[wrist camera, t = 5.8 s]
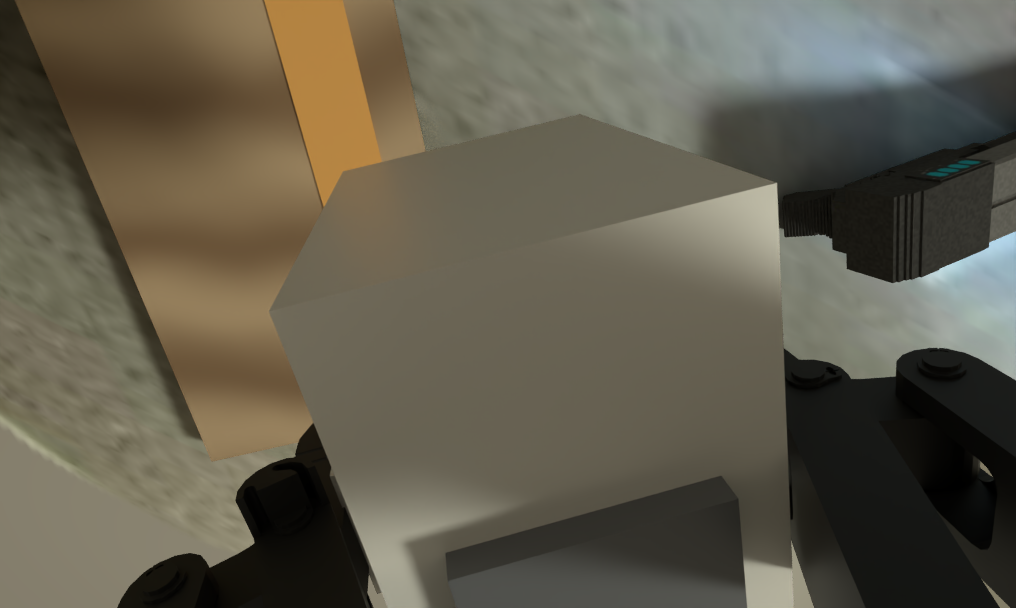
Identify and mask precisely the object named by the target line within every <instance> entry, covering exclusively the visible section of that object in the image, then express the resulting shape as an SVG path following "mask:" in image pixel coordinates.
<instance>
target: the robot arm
mask: <svg viewBox="0 0 1016 608" xmlns="http://www.w3.org/2000/svg"><path fill="white" fill-rule="evenodd" d="M784 373H785V399H786V424H787V449H788V475H789V500H790V526H791V541H792V543H793V547H794V550H795V552H796V555H797V558H798V561H799V564H800V567H801V570H802V573H803V576H804V579H805V582H806V585H807V588H808V591H809V594H810V596H811V600H812V603H813V605H814V608H1000V607H999V606H998V604H997V603H996V601H995V600H994V598H993V597H992V595H991V593H990V592H989V591H988V589H987V587H986V586H985V584H984V583H983V581H984V582H985V583H986V584H987V585H988V586H989V587H990V588H991V589H992V590H993V591H994V592H995V593H996V594H997V595H998V596H999V597H1000V598H1001V599H1002V600H1003V601H1004V602H1005V603H1006V604H1007V605H1008V606H1009V607H1010V608H1016V380H1014V379H1012V378H1011V377H1009V376H1007V375H1005V374H1004V373H1002V372H1000V371H999V370H997V369H995V368H994V367H992V366H990V365H988V364H987V363H985V362H983V361H982V360H980V359H978V358H976V357H973V356H971V355H969V354H966V353H963V352H958V351H954V350H950V349H945V348H939V349H937V348H927V349H921V350H914V351H911V352H909V353H906V354H903V355H902V356H901V357H900V358H899V359H898V360H897V363H896V377H885V378H871V379H851V378H850V377H849V375H848V374H847V373H846V372H845V371H844V370H843V369H842V368H840V367H838V366H836V365H833V364H831V363H829V362H823V361H818V360H799V359H797V358H796V357H795V356H793V355H792V354H791V353H789V352H788V351H787V350H785V349H784ZM295 455H296V457H294V458H286V459H283V460H280V461H277V462H274V463H271V464H269V465H267V466H266V467H264V468H262V469H260V470H258V471H257V472H255V473H254V474H253V475H252V476H250V477H249V478H248V479H247V480H246V481H245V482H244V483H243V484H242V486H241V487H240V488H239V490H238V491H237V496H236V500H235V501H236V503H237V505H238V507H239V509H240V511H241V513H242V515H243V517H244V519H245V521H246V523H247V525H248V527H249V529H250V532H251V534H252V536H253V538H254V542H255V543H254V544H253V545H252V546H250V547H249V548H247V549H245V550H244V551H242V552H240V553H238V554H237V555H235V556H233V557H231V558H229V559H227V560H225V561H223V562H221V563H219V564H217V565H215V566H213V567H211V568H209V566H208V564H207V562H206V561H205V560H204V559H203V557H202V556H201V555H197V554H192V553H188V554H182V555H177V556H174V557H171V558H169V559H167V560H164V561H162V562H160V563H158V564H156V565H154V566H153V567H152V568H150V569H148V570H147V571H146V572H144V573H143V574H142V575H141V576H140V577H139V578H138V579H137V580H136V581H135V582H133V583H132V584H131V585H130V587H129V588H128V590H127V591H126V593H125V594H124V596H123V597H122V599H121V601H120V603H119V605H118V607H117V608H373V605H372V603H371V601H370V599H369V596H368V593H367V591H368V576H369V575H370V577H371V580H372V582H373V585H374V587H375V590H376V592H377V594H378V593H382V592H381V589H380V587H379V584H378V582H377V580H376V577H375V575H374V572H373V570H372V567H371V565H370V562H369V560H368V557H367V555H366V552H365V550H364V547H363V545H362V542H361V540H360V537H359V535H358V532H357V530H356V527H355V525H354V522H353V520H352V517H351V515H350V512H349V510H348V507H347V505H346V502H345V500H344V497H343V495H342V492H341V490H340V487H339V485H338V482H337V480H336V477H335V475H334V472H333V470H332V467H331V465H330V462H329V460H328V458H327V455H326V453H325V450H324V448H323V445H322V443H321V440H320V438H319V435H318V433H317V430H316V428H315V425H314V423H313V424H311V426H310V427H309V428H308V429H307V431H306V432H305V433H304V434H303V435H302V437H301V438H300V439H299V442H298V446H297V449H296V453H295ZM980 461H981V462H982V463H983V464H984V465H985V466H986V467H987V468H988V470H989V471H990V473H991V474H992V476H993V477H992V476H990V475H988V474H987V473H986V472H985V471H984V470H982V469H981V468H980ZM981 579H982V580H983V581H982V580H981Z"/></svg>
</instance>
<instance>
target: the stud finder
mask: <svg viewBox="0 0 1016 608" xmlns="http://www.w3.org/2000/svg"><path fill="white" fill-rule="evenodd" d="M269 313H270V316H271V318H272V321H273V323H274V326H275V328H276V331H277V333H278V336H279V338H280V340H281V343H282V345H283V348H284V350H285V353H286V355H287V358H288V360H289V363H290V365H291V368H292V370H293V373H294V375H295V378H296V380H297V383H298V385H299V388H300V390H301V393H302V395H303V398H304V400H305V403H306V405H307V408H308V410H309V413H310V415H311V418H312V420H313V423H314V425H315V428H316V430H317V433H318V435H319V438H320V440H321V443H322V445H323V448H324V450H325V453H326V455H327V458H328V460H329V462H330V465H331V467H332V470H333V472H334V475H335V477H336V480H337V482H338V485H339V487H340V490H341V492H342V495H343V497H344V500H345V502H346V505H347V507H348V510H349V512H350V515H351V517H352V520H353V522H354V525H355V527H356V530H357V532H358V535H359V537H360V540H361V542H362V545H363V547H364V550H365V552H366V555H367V557H368V560H369V562H370V565H371V567H372V570H373V572H374V575H375V577H376V580H377V582H378V584H379V587H380V589H381V592H382V594H383V597H384V599H385V602H386V604H387V607H388V608H794V602H793V579H792V578H793V577H792V551H791V526H790V500H789V475H788V449H787V424H786V399H785V373H784V348H783V322H782V297H781V271H780V246H779V221H778V195H777V183H776V182H773V181H770V180H767V179H764V178H762V177H759V176H756V175H753V174H750V173H747V172H744V171H741V170H739V169H736V168H733V167H730V166H727V165H724V164H721V163H718V162H716V161H713V160H710V159H707V158H704V157H701V156H698V155H696V154H693V153H690V152H687V151H684V150H681V149H678V148H675V147H673V146H670V145H667V144H664V143H661V142H658V141H655V140H652V139H650V138H647V137H644V136H641V135H638V134H635V133H632V132H629V131H627V130H624V129H621V128H618V127H615V126H612V125H609V124H606V123H604V122H601V121H598V120H595V119H592V118H589V117H586V116H583V115H581V114H579V115H574V116H570V117H566V118H562V119H558V120H554V121H550V122H545V123H541V124H537V125H533V126H529V127H525V128H521V129H516V130H512V131H508V132H504V133H500V134H496V135H492V136H487V137H483V138H479V139H475V140H471V141H467V142H463V143H459V144H454V145H450V146H446V147H442V148H438V149H434V150H430V151H425V152H421V153H417V154H413V155H409V156H405V157H401V158H396V159H392V160H388V161H384V162H380V163H376V164H372V165H367V166H363V167H359V168H355V169H351V170H347V171H343V172H342V174H341V176H340V178H339V180H338V182H337V184H336V186H335V188H334V189H333V191H332V193H331V195H330V197H329V199H328V201H327V203H326V205H325V206H324V208H323V210H322V212H321V214H320V216H319V218H318V220H317V222H316V223H315V225H314V227H313V229H312V231H311V233H310V235H309V237H308V238H307V240H306V242H305V244H304V246H303V248H302V250H301V252H300V254H299V255H298V257H297V259H296V261H295V263H294V265H293V267H292V269H291V271H290V272H289V274H288V276H287V278H286V280H285V282H284V284H283V286H282V288H281V289H280V291H279V293H278V295H277V297H276V299H275V301H274V303H273V305H272V306H271V308H270V310H269Z"/></svg>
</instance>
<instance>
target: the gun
mask: <svg viewBox="0 0 1016 608" xmlns="http://www.w3.org/2000/svg"><path fill="white" fill-rule="evenodd" d="M783 220H784V236H785V237H796V236H798V237H799V236H809V235H810V236H812V235H814V236H815V235H817V234H819V235H825V234H826V236H827V237H828V236H829V238H832V246H833V250H835V251H839V252H843V253H846V254H847V269H849V270H852V271H855V272H859V273H862V274H865V275H868V276H871V277H875V278H878V279H881V280H884V281H888V282H891V283H895V282H900V281H903V280H909V279H911V280H912V279H915V278H917V277H923V276H926V275H928V274H930V273H933V272H935V271H937V270H939V269H940V268H942V267H945V266H947V265H949V264H952V263H954V262H956V261H959V260H961V259H963V258H966V257H968V256H971V255H973V254H975V253H978V252H980V251H982V250H985V249H986V248H988V247H989V242H991V241H994V240H996V239H998V238H1001V237H1003V236H1005V235H1008V234H1010V233H1013V232H1015V231H1016V132H1013V133H1010V134H1008V135H1005V136H1002V137H1000V138H997V139H994V140H991V141H989V142H986V143H983V144H981V143H973V144H970V145H968V146H965V147H962V148H959V149H957V150H954V149H942V150H940V151H937V152H934V153H931V154H929V155H926V156H923V157H921V158H918V159H915V160H912V161H910V162H907V163H904V164H901V165H899V166H896V167H893V168H890V169H888V170H885V171H882V172H880V173H877V174H874V175H871V176H869V177H866V178H863V179H860V180H858V181H855V182H852V183H850V184H847V185H845V187H844V188H840V189H830V190H829V189H828V190H818V191H808V192H798V193H797V192H796V193H793V194H789V195H785V196H784V198H783Z"/></svg>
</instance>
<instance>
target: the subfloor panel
mask: <svg viewBox="0 0 1016 608" xmlns="http://www.w3.org/2000/svg"><path fill="white" fill-rule="evenodd" d="M15 2H16V4H17V6H18V9H19V11H20V13H21V16H22V18H23V20H24V23H25V25H26V27H27V30H28V32H29V35H30V37H31V39H32V42H33V44H34V46H35V49H36V51H37V53H38V56H39V58H40V60H41V63H42V65H43V67H44V70H45V72H46V74H47V77H48V79H49V81H50V84H51V86H52V88H53V91H54V93H55V95H56V98H57V100H58V102H59V105H60V107H61V110H62V112H63V114H64V117H65V119H66V121H67V124H68V126H69V128H70V131H71V133H72V135H73V138H74V140H75V142H76V145H77V147H78V149H79V152H80V154H81V156H82V159H83V161H84V163H85V166H86V168H87V170H88V173H89V175H90V177H91V180H92V182H93V185H94V187H95V189H96V192H97V194H98V196H99V199H100V201H101V203H102V206H103V208H104V210H105V213H106V215H107V217H108V220H109V222H110V224H111V227H112V229H113V231H114V234H115V236H116V238H117V241H118V243H119V245H120V248H121V250H122V252H123V255H124V257H125V260H126V262H127V264H128V267H129V269H130V271H131V274H132V276H133V278H134V281H135V283H136V285H137V288H138V290H139V292H140V295H141V297H142V299H143V302H144V304H145V306H146V309H147V311H148V313H149V316H150V318H151V320H152V323H153V325H154V327H155V330H156V332H157V334H158V337H159V339H160V342H161V344H162V346H163V349H164V351H165V353H166V356H167V358H168V360H169V363H170V365H171V367H172V370H173V372H174V374H175V377H176V379H177V381H178V384H179V386H180V388H181V391H182V393H183V395H184V398H185V400H186V402H187V405H188V407H189V409H190V412H191V414H192V417H193V419H194V421H195V424H196V426H197V428H198V431H199V433H200V435H201V438H202V440H203V442H204V445H205V447H206V449H207V452H208V454H209V456H210V459H211V461H217V460H221V459H225V458H230V457H234V456H239V455H243V454H248V453H252V452H257V451H261V450H265V449H270V448H274V447H279V446H283V445H288V444H292V443H297V442H299V439H300V438H301V437H302V435H303V434H304V433H305V432H306V431H307V429H308V428H309V427H310V426H311V424H313V420H312V418H311V415H310V413H309V410H308V408H307V405H306V403H305V400H304V398H303V395H302V393H301V390H300V388H299V385H298V383H297V380H296V378H295V375H294V373H293V370H292V368H291V365H290V363H289V360H288V358H287V355H286V353H285V350H284V348H283V345H282V343H281V340H280V338H279V336H278V333H277V331H276V328H275V326H274V323H273V321H272V318H271V316H270V313H269V310H270V308H271V306H272V305H273V303H274V301H275V299H276V297H277V295H278V293H279V291H280V289H281V288H282V286H283V284H284V282H285V280H286V278H287V276H288V274H289V272H290V271H291V269H292V267H293V265H294V263H295V261H296V259H297V257H298V255H299V254H300V252H301V250H302V248H303V246H304V244H305V242H306V240H307V238H308V237H309V235H310V233H311V231H312V229H313V227H314V225H315V223H316V222H317V220H318V218H319V216H320V214H321V212H322V210H323V208H324V206H325V205H326V203H327V201H328V199H329V197H330V195H331V193H332V191H333V189H334V188H335V186H336V184H337V182H338V180H339V178H340V176H341V174H342V172H343V171H347V170H351V169H355V168H359V167H363V166H367V165H372V164H376V163H380V162H384V161H388V160H392V159H396V158H401V157H405V156H409V155H413V154H417V153H421V152H425V146H424V141H423V137H422V132H421V127H420V123H419V118H418V113H417V109H416V104H415V99H414V95H413V90H412V85H411V81H410V76H409V71H408V67H407V62H406V57H405V53H404V48H403V43H402V39H401V34H400V29H399V25H398V20H397V15H396V11H395V6H394V1H393V0H15Z"/></svg>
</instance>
